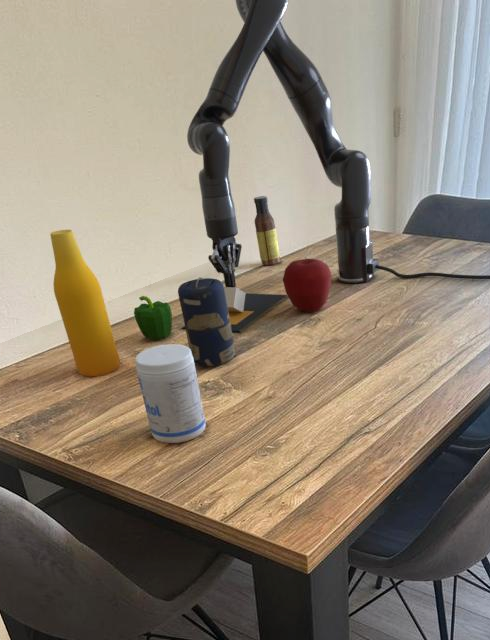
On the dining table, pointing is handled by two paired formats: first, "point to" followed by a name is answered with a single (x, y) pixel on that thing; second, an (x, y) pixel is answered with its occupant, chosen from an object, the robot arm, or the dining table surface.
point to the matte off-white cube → (234, 299)
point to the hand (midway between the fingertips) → (231, 287)
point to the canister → (207, 321)
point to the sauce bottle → (266, 233)
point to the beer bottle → (82, 309)
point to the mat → (252, 309)
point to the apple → (307, 284)
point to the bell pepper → (154, 319)
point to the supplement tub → (171, 393)
